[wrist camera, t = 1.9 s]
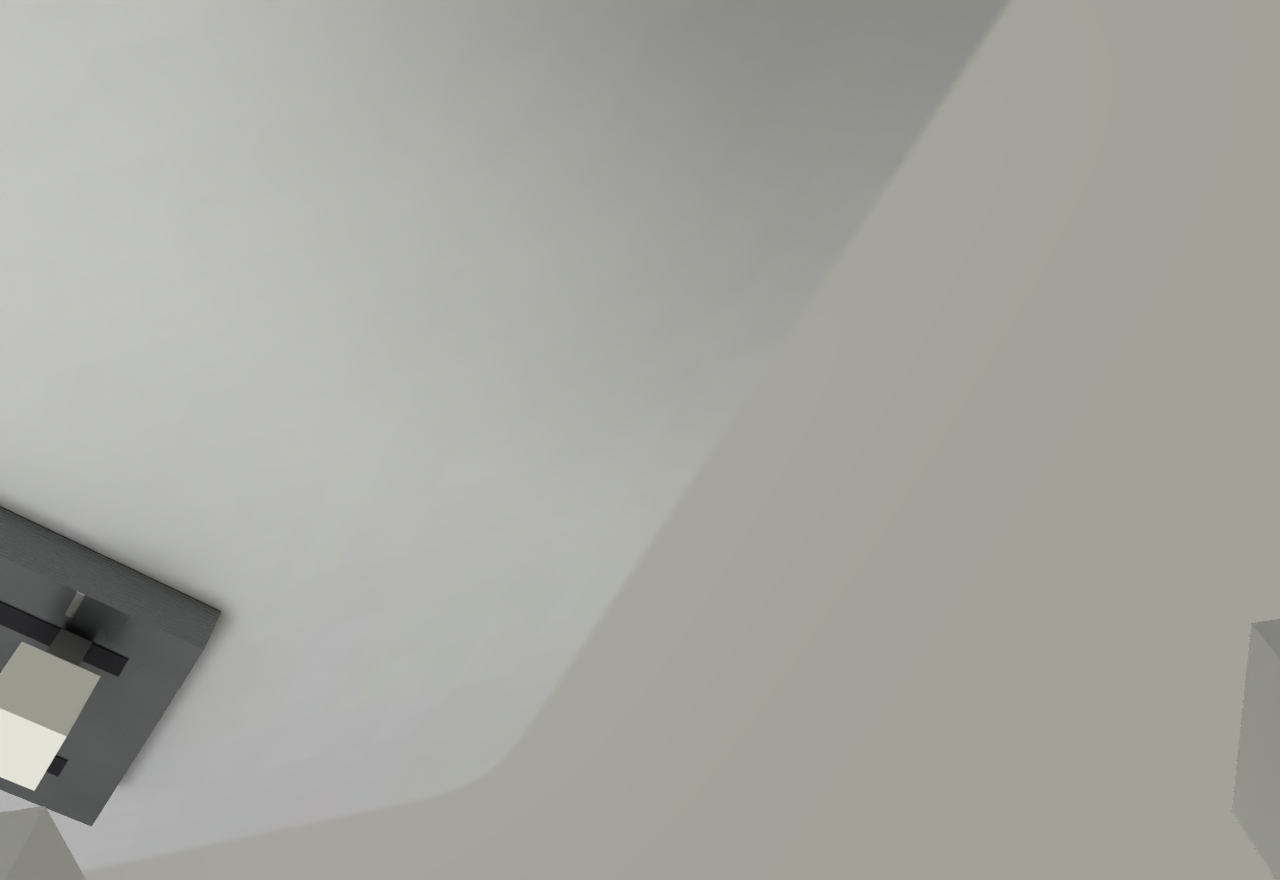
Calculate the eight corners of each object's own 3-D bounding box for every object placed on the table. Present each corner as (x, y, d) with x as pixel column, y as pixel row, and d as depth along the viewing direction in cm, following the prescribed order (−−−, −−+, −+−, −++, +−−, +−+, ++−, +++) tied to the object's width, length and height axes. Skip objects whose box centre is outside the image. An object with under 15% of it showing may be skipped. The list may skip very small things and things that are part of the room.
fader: (17, 657, 37) (-50, 756, 33) (46, 604, 36) (-19, 700, 32) (91, 689, 38) (34, 791, 34) (121, 639, 37) (66, 736, 33)
